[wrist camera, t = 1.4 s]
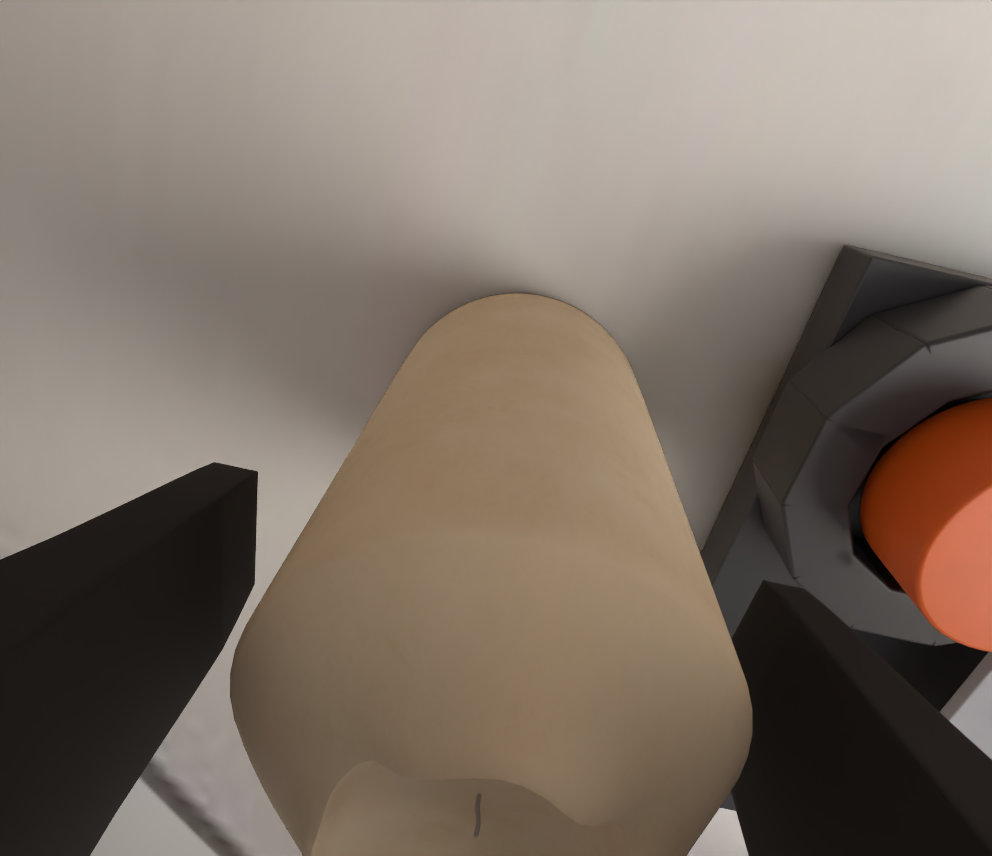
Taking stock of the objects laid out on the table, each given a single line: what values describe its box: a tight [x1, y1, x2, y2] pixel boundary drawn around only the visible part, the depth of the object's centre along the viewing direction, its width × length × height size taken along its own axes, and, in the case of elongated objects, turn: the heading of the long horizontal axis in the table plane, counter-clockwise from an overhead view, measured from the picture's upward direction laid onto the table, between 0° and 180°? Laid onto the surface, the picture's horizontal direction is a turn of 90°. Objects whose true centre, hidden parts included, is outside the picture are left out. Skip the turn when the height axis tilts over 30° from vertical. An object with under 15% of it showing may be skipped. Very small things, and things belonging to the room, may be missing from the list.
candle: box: [230, 293, 752, 856], centre depth 10 cm, size 6×6×10 cm
